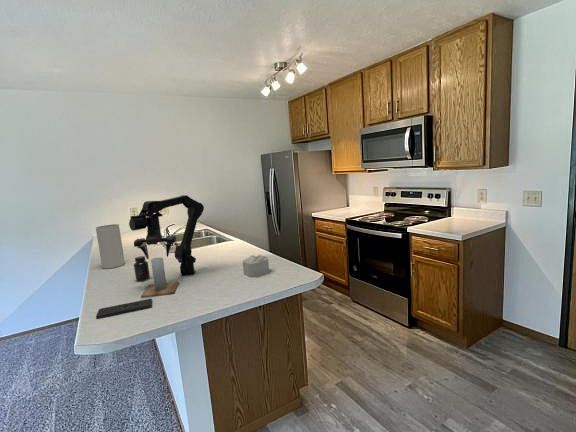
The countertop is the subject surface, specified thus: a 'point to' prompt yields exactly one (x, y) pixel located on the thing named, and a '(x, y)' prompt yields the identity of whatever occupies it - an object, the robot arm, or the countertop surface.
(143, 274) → the supplement bottle
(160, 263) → the slate round-topped tapered cone
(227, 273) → the countertop surface
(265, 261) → the lumpy-topped squat cylinder
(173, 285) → the walnut board
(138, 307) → the smart home device
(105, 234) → the cylinder vase
